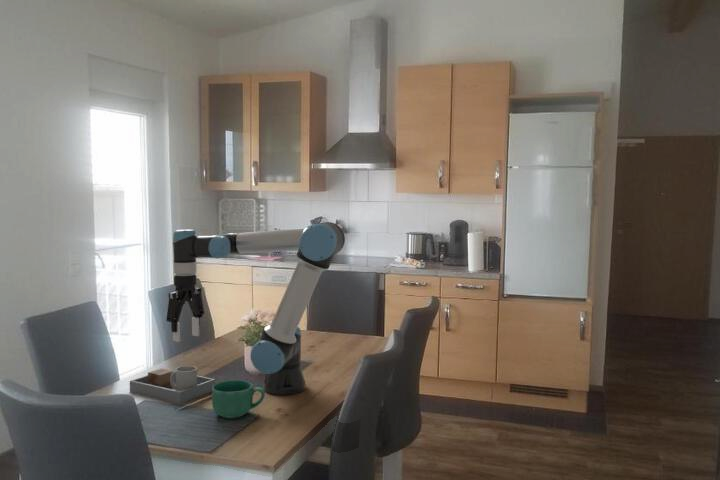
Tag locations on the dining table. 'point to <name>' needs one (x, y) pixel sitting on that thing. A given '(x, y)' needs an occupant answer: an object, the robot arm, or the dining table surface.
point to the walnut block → (160, 378)
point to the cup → (184, 377)
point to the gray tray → (172, 389)
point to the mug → (234, 398)
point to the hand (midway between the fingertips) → (186, 338)
